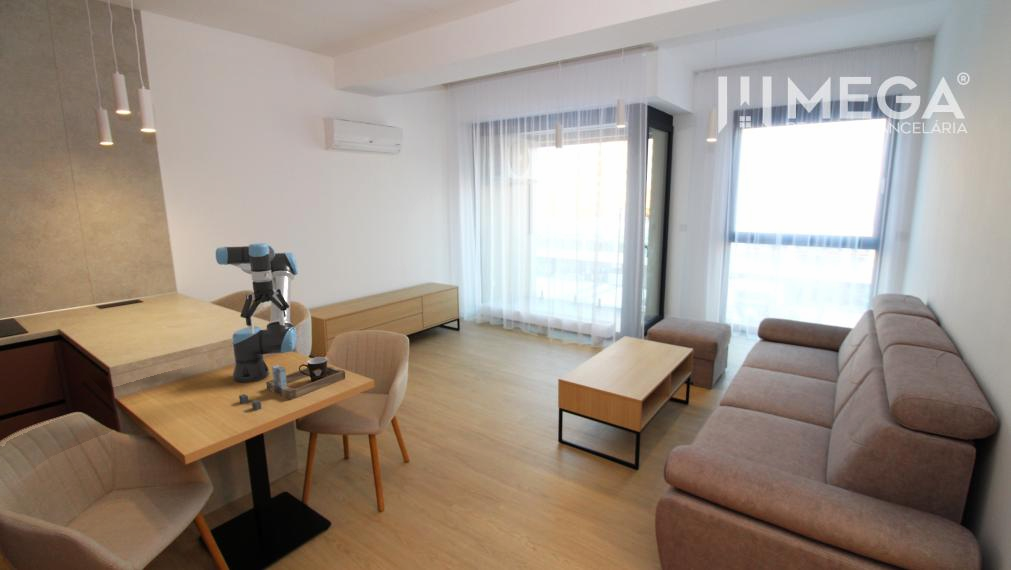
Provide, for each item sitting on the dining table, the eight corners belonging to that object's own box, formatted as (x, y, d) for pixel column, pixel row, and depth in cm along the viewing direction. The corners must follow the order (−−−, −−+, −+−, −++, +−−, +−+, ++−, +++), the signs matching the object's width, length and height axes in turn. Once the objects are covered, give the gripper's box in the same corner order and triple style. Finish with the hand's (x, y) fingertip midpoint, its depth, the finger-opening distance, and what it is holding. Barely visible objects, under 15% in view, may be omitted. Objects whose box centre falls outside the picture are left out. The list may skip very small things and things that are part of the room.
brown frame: (267, 389, 211) (264, 363, 209) (321, 369, 233) (319, 346, 231) (291, 399, 201) (288, 372, 198) (345, 378, 223) (343, 353, 221)
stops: (239, 402, 199) (239, 395, 198) (244, 400, 200) (243, 393, 200) (256, 410, 192) (255, 403, 191) (261, 408, 193) (260, 401, 193)
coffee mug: (332, 377, 224) (330, 357, 222) (323, 384, 216) (321, 364, 214) (308, 376, 225) (306, 356, 223) (299, 383, 217) (297, 363, 215)
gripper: (236, 286, 188) (243, 337, 192) (294, 276, 208) (299, 323, 212) (227, 284, 192) (233, 334, 196) (284, 274, 212) (289, 320, 217)
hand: (267, 328), depth 204 cm, fingers open, 13 cm apart
